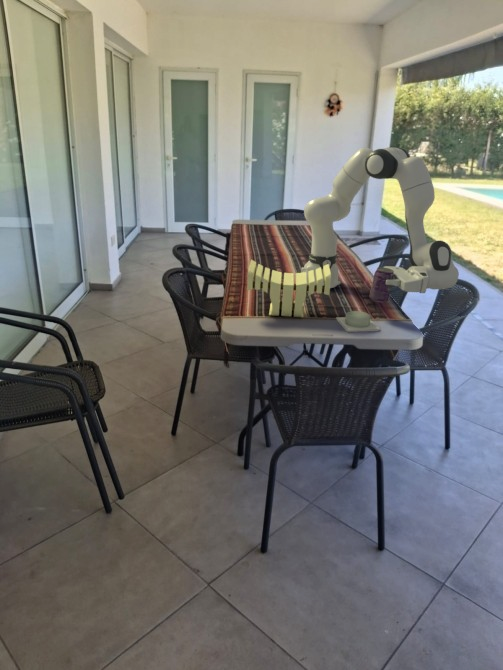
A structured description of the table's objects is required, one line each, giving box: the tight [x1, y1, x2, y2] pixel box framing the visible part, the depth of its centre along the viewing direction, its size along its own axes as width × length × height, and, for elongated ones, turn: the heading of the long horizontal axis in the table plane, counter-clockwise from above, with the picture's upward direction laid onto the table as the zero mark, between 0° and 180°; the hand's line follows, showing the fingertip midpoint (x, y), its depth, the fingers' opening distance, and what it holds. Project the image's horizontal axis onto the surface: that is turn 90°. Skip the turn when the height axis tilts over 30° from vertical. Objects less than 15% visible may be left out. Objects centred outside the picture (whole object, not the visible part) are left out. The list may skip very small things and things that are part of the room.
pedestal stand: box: [335, 310, 380, 333], centre depth 178 cm, size 12×12×4 cm
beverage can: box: [368, 266, 394, 303], centre depth 182 cm, size 7×7×12 cm
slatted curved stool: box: [246, 259, 331, 318], centre depth 186 cm, size 30×16×18 cm, turn 85°
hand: (381, 278), depth 181 cm, fingers closed on beverage can, 6 cm apart
